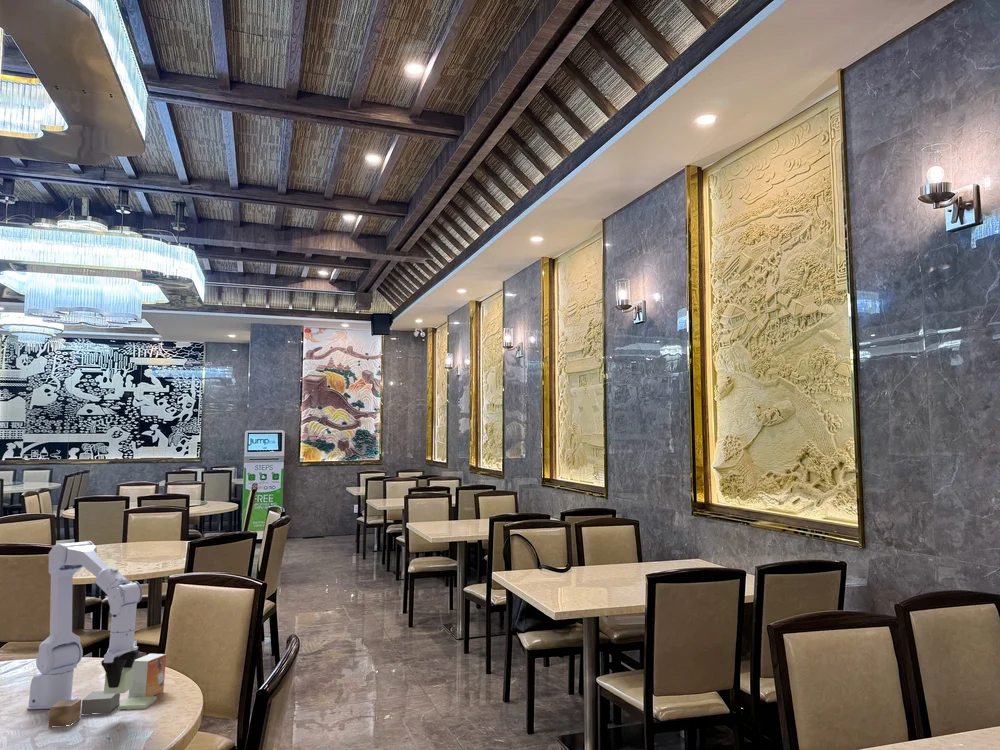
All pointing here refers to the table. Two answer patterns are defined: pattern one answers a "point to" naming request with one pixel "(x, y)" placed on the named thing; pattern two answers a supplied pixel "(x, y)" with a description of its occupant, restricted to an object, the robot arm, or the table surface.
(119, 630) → the robot arm
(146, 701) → the sage green tile
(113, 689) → the sage green block
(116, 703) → the charcoal base block
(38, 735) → the table surface
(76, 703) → the walnut block
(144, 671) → the small box
